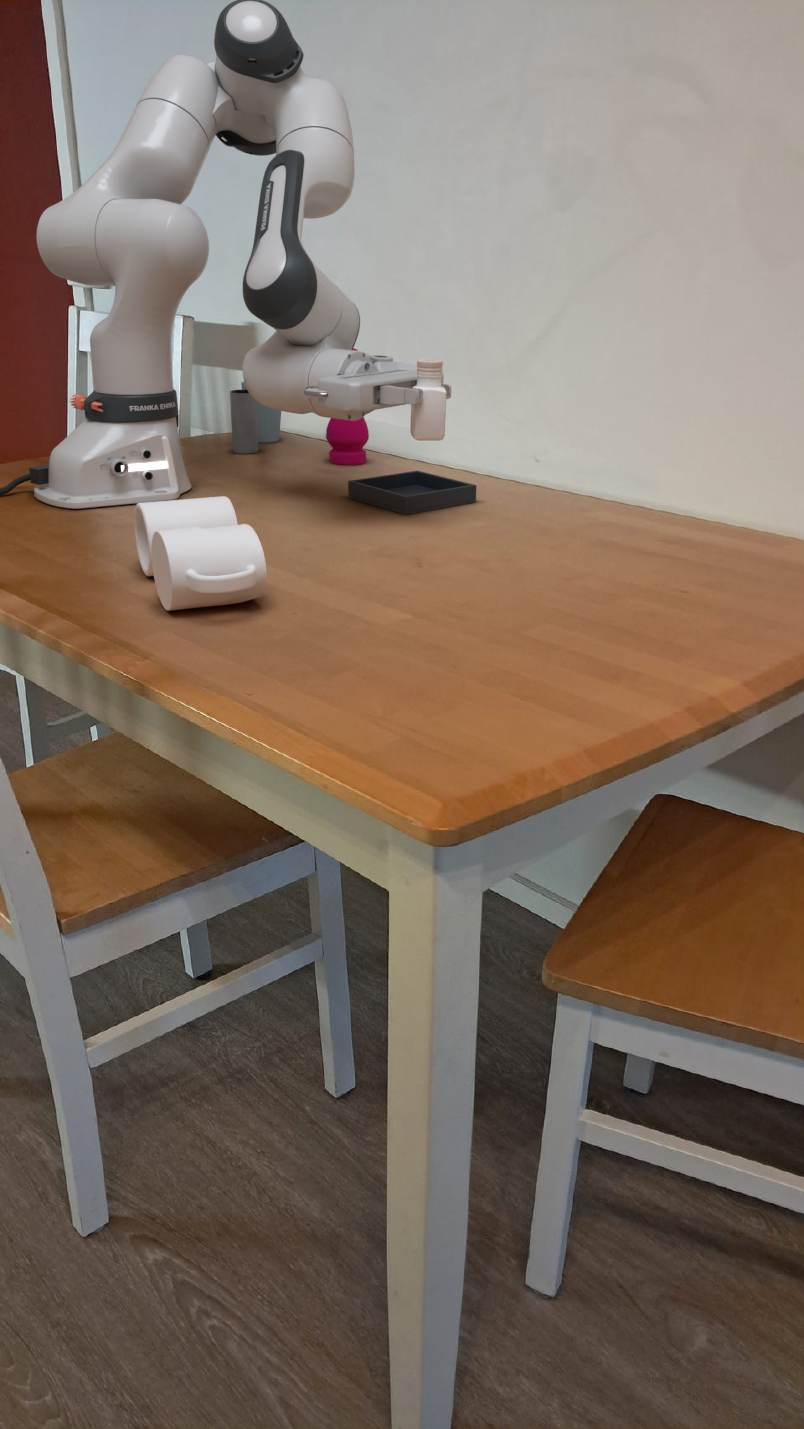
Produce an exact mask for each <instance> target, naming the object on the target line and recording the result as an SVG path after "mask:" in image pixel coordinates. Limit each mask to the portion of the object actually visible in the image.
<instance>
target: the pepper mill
mask: <svg viewBox="0 0 804 1429" xmlns="http://www.w3.org/2000/svg"><path fill="white" fill-rule="evenodd" d="M353 350H355V351H359V350H358V349H357V348H355V347H354V348H353ZM325 431H326V432H325V439H326V441H327V443H328V444H329V446H331V449H330V450H329V451H328V461H329V463H331V464H334V465H339V466H357V465H362V464H365V463H366V462H367V452H366V450H365V449H364V447H365V445H366V444H367V443H368V441H369V438H370V434H369V432H370V431H369V427H368V423H367V421H366V419H365V416H364V417H362V418H361V419H359V420H356V421H350V420H342V419H335V418H329V421H328V423H327V427H326V430H325Z"/></svg>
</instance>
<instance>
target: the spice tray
mask: <svg viewBox="0 0 804 1429" xmlns="http://www.w3.org/2000/svg"><path fill="white" fill-rule="evenodd" d="M477 488H478V487H477V484H473V483H469V482H465V481H461V480H457V479H453V478H449V477H445V476H441V475H437V474H433V473H429V472H425V471H421V470H412V471H404V472H397V473H390V474H386V475H385V474H383V475H377V476H370V477H364V478H359V479H358V478H357V479H351V480H350V479H349V480H347V497H348V499H350V500H354V501H357V502H361V503H364V504H367V505H370V506H371V505H372V506H374V507H377V508H382V509H384V510H388V511H391V512H395V513H398V514H401V515H405V516H407V515H412V514H419V513H424V512H429V511H436V510H440V509H441V510H442V509H446V508H452V507H458V506H463V505H469V504H475V503H476V502H477Z"/></svg>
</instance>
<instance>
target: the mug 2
mask: <svg viewBox="0 0 804 1429" xmlns="http://www.w3.org/2000/svg"><path fill="white" fill-rule="evenodd" d="M151 553H152V567H153V574H154V576H153V579H154V583H155V584H154V585H155V588H156V591H157V595H158V598H159V601H160V603H161V605H162V607H163V608H164V609H165V610H166V611H168V612H169V611H178V610H179V611H180V610H188V609H198V608H199V609H200V608H209V607H217V606H227V605H233V604H234V605H235V604H240V603H245V602H248V601H250V600H254V599H255V600H257V599H260V598H262V597H263V595H264V594H265V591H266V587H267V580H268V579H267V578H268V577H267V576H268V575H267V574H268V573H267V572H268V571H267V563H266V557H265V552H264V548H263V545H262V543H261V541H260V537H259V536H258V534H257V532H256V530H255V529H254V528H253V527H252V526H251V525H249V524H247V523H240V524H238V525H232V526H223V527H215V528H206V529H204V528H200V527H198V526H196V527H188V528H179V529H171V530H162V531H156V532H155V533H154V535H153V538H152V548H151Z"/></svg>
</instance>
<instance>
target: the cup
mask: <svg viewBox="0 0 804 1429" xmlns="http://www.w3.org/2000/svg"><path fill="white" fill-rule="evenodd" d="M240 384H241V390H247V388H246V386H245V383H244V381H241V383H240ZM257 421H258V443H263V444H264V443H266V444H267V443H268V444H269V443H277V442H279V441H280V436H281V435H280V434H281V423H282V422H281V421H282V411H279V410H275V409H271V408H268V407H265V406H263V405H261V404H259V403H258V402H257Z"/></svg>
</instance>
